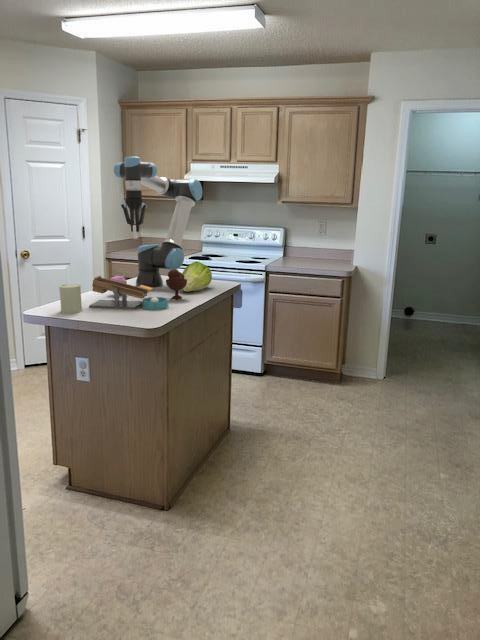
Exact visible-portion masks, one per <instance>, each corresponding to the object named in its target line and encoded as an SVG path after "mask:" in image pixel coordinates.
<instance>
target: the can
mask: <svg viewBox="0 0 480 640" xmlns="http://www.w3.org/2000/svg"><path fill="white" fill-rule="evenodd" d="M58 288H59V289H58V290H59V299H60V300H59V301H60V313H63V314H76V313H80V312H82V311H83V306H82V305H83V304H82V292H81V291H82V290H81V284H78V283H65V284H60V285H59V286H58Z"/></svg>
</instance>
